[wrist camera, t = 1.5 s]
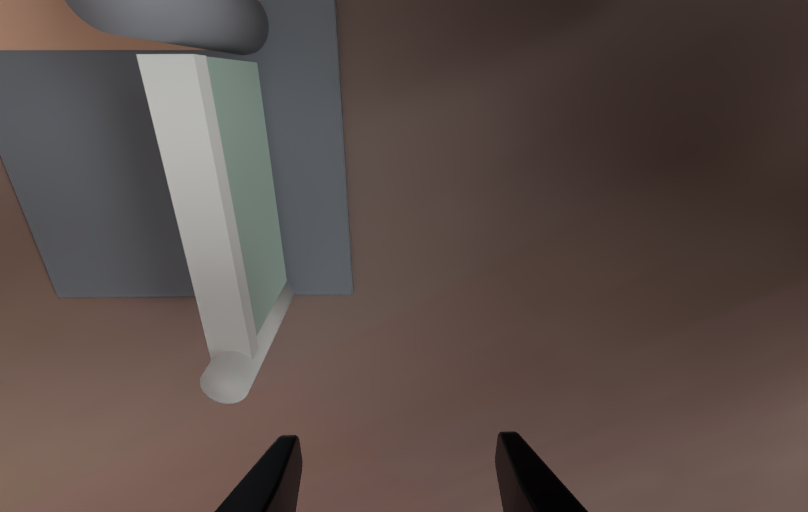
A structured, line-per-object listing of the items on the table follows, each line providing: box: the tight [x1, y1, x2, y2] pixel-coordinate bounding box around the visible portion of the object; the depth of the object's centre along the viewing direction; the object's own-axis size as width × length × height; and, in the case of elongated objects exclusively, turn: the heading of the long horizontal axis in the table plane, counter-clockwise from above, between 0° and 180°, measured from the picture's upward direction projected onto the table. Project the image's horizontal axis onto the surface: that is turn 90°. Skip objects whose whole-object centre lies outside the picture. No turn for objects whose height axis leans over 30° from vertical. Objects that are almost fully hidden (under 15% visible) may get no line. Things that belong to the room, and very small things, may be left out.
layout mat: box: [0, 0, 353, 298], centre depth 17 cm, size 16×26×1 cm, turn 0°
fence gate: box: [136, 54, 294, 404], centre depth 16 cm, size 12×2×7 cm, turn 0°
